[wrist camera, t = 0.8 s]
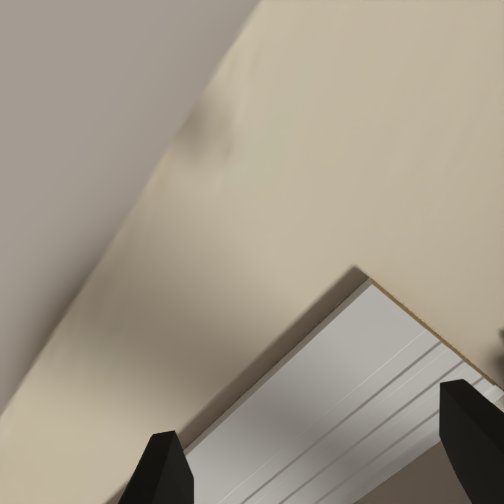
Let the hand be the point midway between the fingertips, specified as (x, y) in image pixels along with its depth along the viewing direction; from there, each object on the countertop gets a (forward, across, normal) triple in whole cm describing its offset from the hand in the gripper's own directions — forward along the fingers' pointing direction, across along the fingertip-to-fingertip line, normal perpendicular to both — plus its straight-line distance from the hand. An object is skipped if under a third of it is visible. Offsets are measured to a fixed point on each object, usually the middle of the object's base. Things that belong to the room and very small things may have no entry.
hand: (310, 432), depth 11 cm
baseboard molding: (+9, +4, +16) cm, 19 cm away
